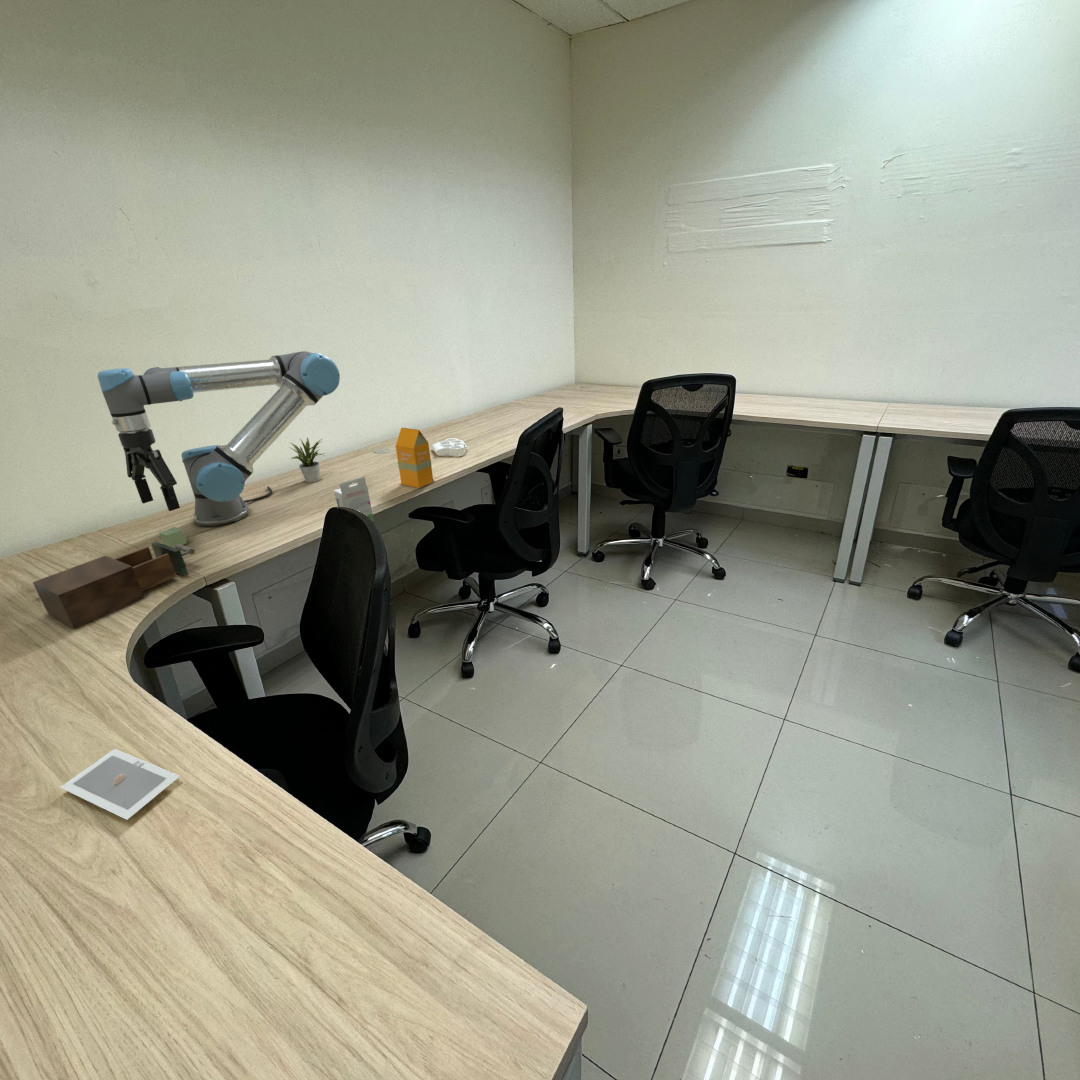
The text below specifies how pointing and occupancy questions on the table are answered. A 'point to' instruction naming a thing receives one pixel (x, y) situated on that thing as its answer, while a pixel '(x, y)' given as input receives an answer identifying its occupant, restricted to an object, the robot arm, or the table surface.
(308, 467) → the house plant
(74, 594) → the cabinet
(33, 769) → the table surface
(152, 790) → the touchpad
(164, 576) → the drawer
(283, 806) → the table surface
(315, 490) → the table surface
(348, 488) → the ink box
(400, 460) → the orange juice
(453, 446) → the white flat lumpy piece
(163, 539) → the block
